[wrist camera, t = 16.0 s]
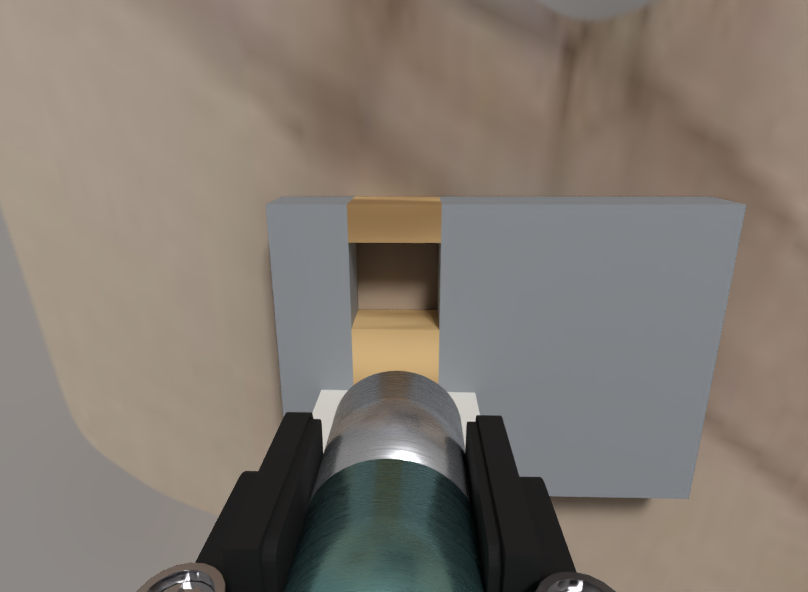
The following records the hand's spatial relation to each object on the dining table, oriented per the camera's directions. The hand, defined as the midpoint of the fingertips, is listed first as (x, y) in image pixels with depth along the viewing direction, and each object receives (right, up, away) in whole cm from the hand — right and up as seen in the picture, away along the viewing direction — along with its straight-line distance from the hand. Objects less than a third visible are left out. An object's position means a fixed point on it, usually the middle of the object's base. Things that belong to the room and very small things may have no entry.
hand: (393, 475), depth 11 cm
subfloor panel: (+5, +1, +18) cm, 19 cm away
